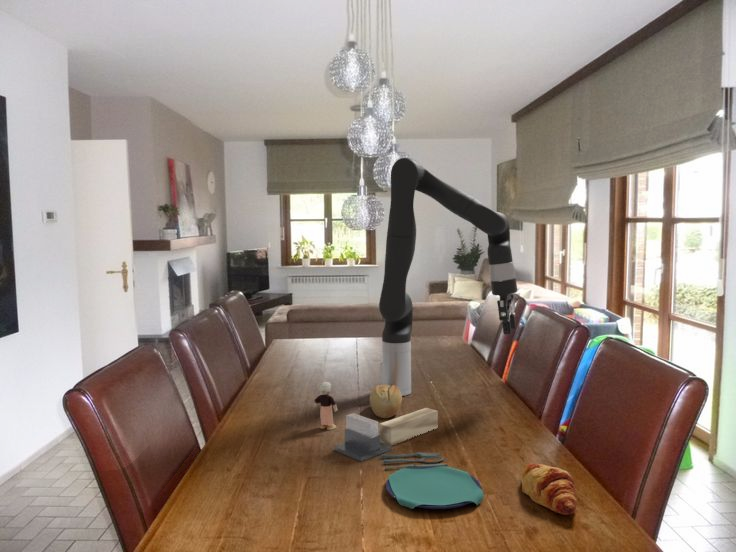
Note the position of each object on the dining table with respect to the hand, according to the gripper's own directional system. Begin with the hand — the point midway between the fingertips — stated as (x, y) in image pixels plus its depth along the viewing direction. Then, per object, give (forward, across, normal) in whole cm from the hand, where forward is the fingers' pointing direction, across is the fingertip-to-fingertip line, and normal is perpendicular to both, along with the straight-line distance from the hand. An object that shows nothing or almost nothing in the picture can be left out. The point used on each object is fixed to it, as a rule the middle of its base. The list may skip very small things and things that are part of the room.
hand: (509, 331), depth 181 cm
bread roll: (+18, +21, -35) cm, 45 cm away
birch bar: (+19, +36, -23) cm, 47 cm away
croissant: (+24, +60, +15) cm, 66 cm away
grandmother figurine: (+16, +39, -46) cm, 62 cm away
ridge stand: (+18, +50, -30) cm, 61 cm away
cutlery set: (+21, +62, -10) cm, 66 cm away
